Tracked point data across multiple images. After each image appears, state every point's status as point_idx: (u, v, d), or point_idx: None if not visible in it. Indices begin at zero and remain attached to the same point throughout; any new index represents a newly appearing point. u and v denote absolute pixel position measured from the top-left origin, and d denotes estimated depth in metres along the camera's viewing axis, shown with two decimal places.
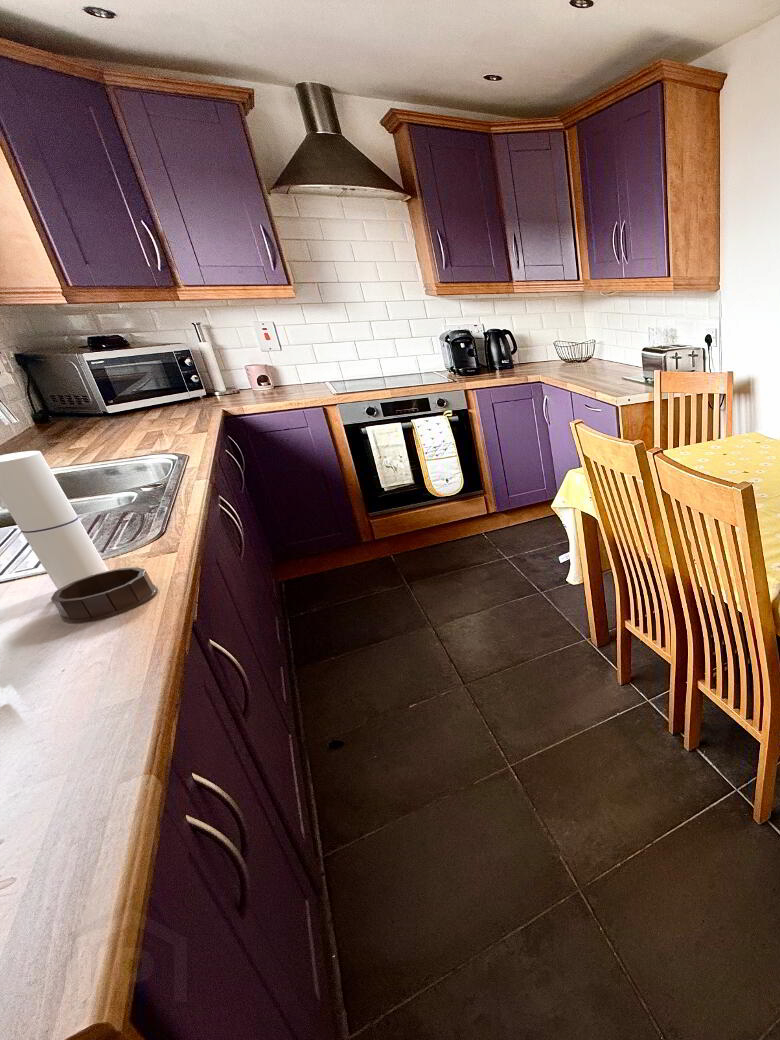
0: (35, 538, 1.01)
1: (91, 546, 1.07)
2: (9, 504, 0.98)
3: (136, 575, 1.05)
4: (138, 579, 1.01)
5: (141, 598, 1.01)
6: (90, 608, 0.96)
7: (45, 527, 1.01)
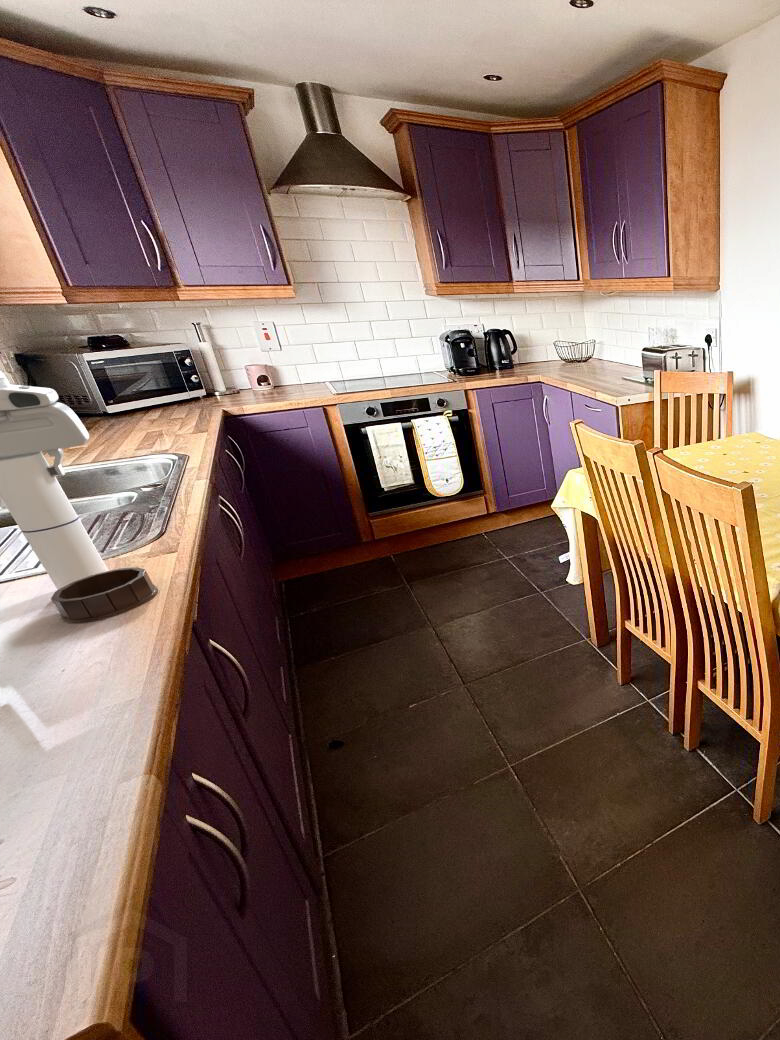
0: (35, 538, 1.01)
1: (91, 546, 1.07)
2: (9, 504, 0.98)
3: (136, 575, 1.05)
4: (138, 579, 1.01)
5: (141, 598, 1.01)
6: (90, 608, 0.96)
7: (45, 527, 1.01)
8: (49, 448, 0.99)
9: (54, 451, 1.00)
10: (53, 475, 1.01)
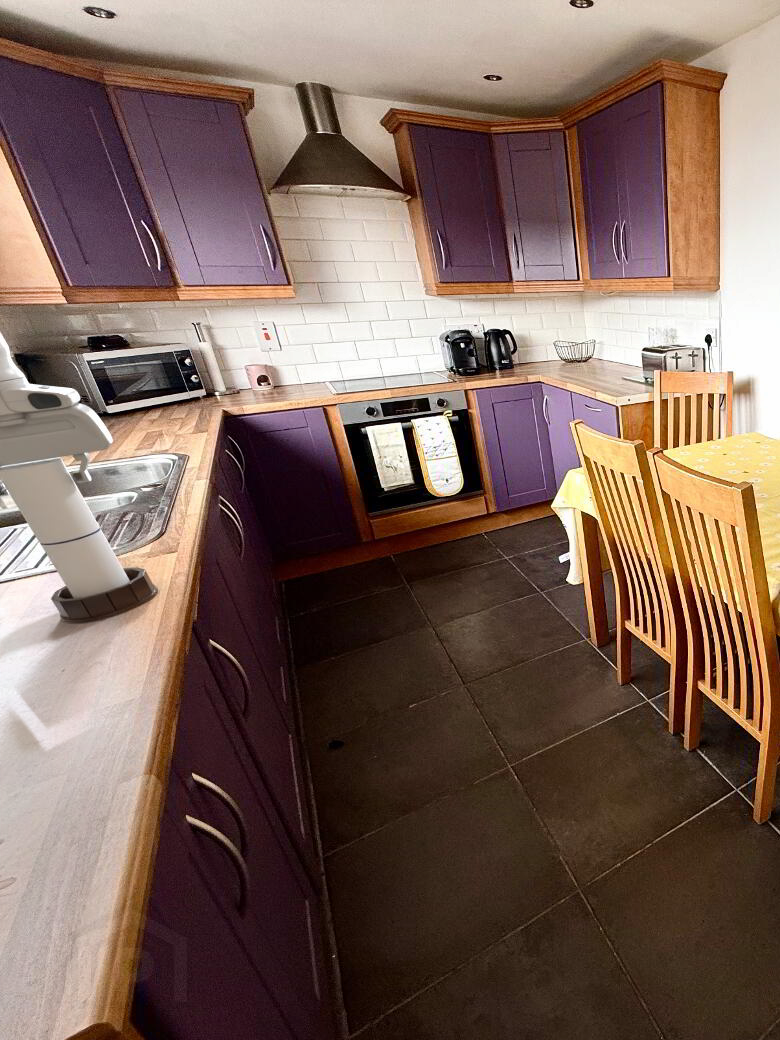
0: (55, 551, 0.93)
1: (114, 559, 1.00)
2: (27, 515, 0.91)
3: (136, 575, 1.05)
4: (138, 579, 1.01)
5: (141, 598, 1.01)
6: (90, 608, 0.96)
7: (66, 539, 0.93)
8: (70, 453, 0.92)
9: (80, 455, 0.93)
10: (79, 481, 0.94)
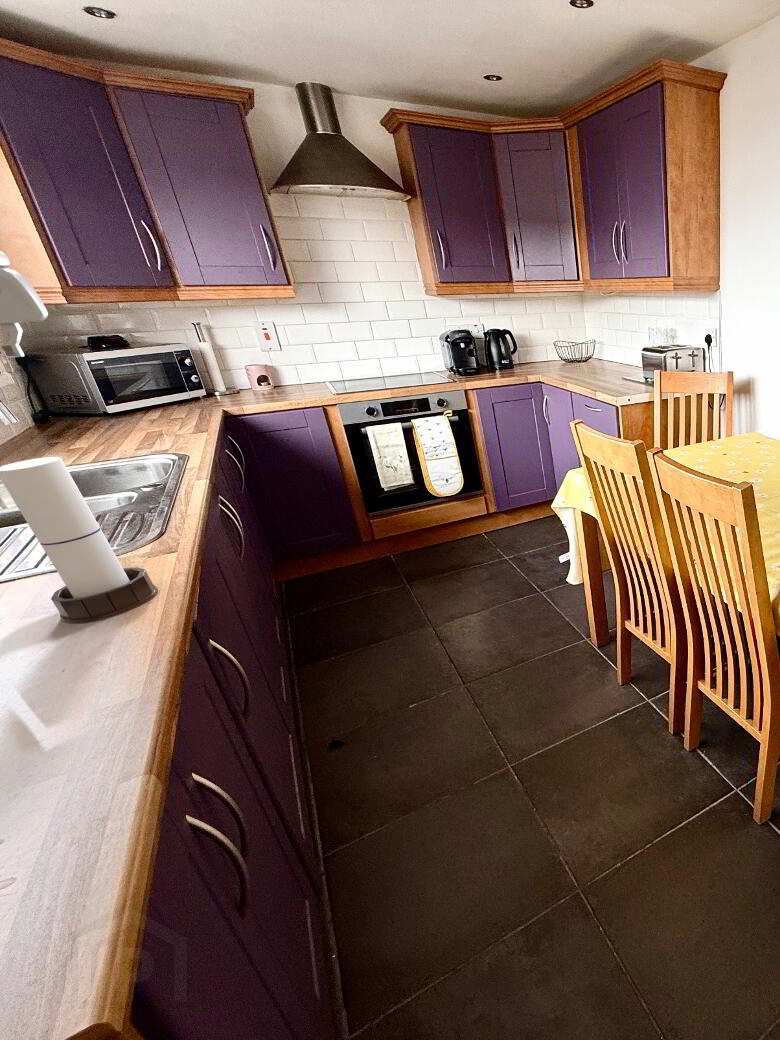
0: (55, 551, 0.93)
1: (114, 559, 1.00)
2: (27, 515, 0.91)
3: (136, 575, 1.05)
4: (138, 579, 1.01)
5: (141, 598, 1.01)
6: (90, 608, 0.96)
7: (66, 539, 0.93)
8: None
9: (10, 325, 0.85)
10: (9, 355, 0.86)
